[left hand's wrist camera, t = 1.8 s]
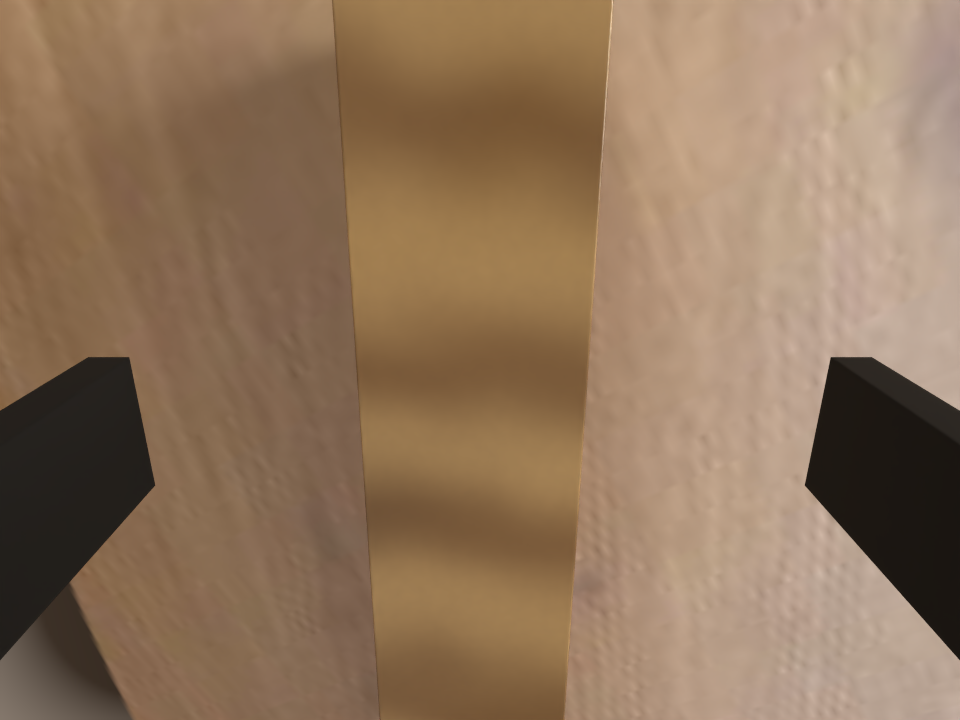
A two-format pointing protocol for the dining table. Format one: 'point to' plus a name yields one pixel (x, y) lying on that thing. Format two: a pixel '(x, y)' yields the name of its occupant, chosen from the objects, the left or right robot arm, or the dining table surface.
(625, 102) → the dining table surface
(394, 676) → the post
